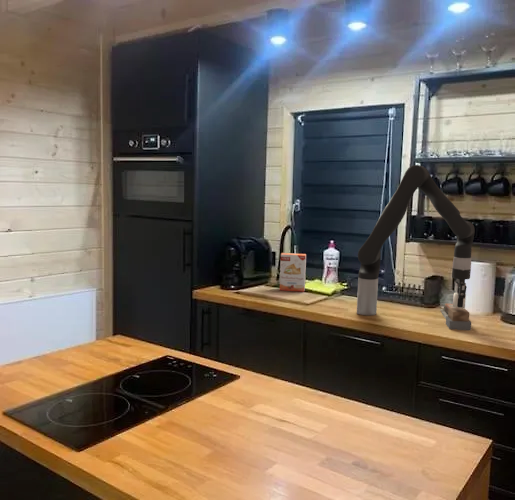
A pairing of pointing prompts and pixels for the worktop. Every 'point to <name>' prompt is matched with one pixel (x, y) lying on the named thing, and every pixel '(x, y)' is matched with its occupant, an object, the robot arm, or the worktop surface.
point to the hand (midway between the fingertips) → (458, 305)
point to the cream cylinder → (455, 300)
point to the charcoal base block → (458, 324)
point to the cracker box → (292, 272)
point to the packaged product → (446, 309)
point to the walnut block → (458, 314)
